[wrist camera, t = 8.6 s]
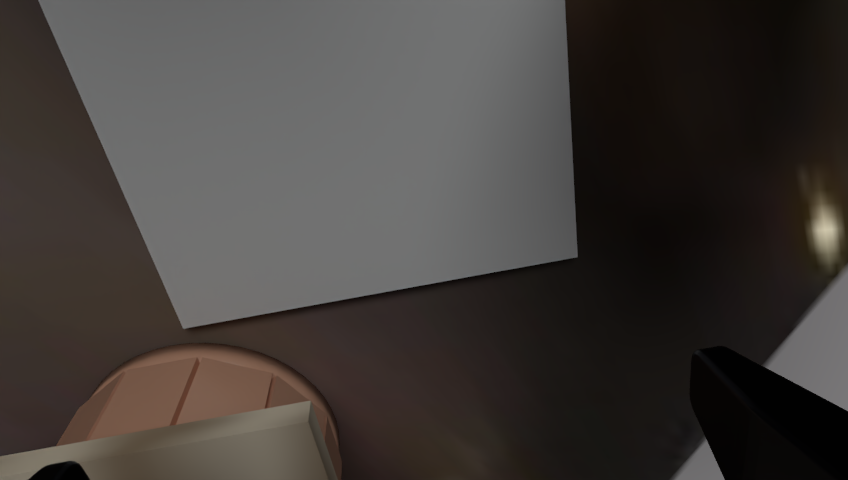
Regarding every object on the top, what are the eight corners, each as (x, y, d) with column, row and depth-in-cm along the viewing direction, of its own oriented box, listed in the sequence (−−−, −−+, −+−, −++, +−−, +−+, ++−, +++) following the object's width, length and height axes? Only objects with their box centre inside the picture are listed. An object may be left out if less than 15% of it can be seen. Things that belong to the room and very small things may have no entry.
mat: (546, -240, 15) (552, -246, 14) (572, 248, 21) (577, 256, 21) (-8, -134, 15) (-23, -137, 14) (187, 318, 22) (183, 328, 21)
